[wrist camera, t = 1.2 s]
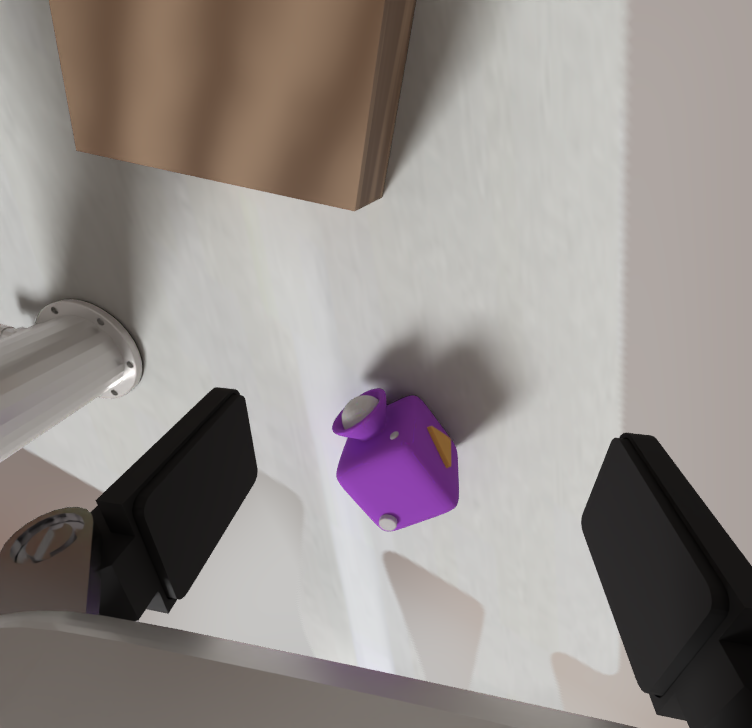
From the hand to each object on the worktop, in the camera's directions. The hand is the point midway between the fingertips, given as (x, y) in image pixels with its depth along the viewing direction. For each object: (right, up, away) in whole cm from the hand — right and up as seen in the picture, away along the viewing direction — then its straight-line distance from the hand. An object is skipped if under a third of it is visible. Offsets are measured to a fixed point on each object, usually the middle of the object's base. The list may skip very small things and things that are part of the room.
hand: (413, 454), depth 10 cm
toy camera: (+1, -4, +33) cm, 34 cm away
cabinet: (-8, +25, +19) cm, 32 cm away
